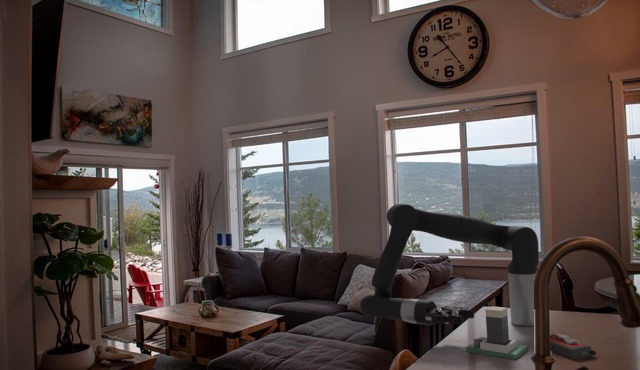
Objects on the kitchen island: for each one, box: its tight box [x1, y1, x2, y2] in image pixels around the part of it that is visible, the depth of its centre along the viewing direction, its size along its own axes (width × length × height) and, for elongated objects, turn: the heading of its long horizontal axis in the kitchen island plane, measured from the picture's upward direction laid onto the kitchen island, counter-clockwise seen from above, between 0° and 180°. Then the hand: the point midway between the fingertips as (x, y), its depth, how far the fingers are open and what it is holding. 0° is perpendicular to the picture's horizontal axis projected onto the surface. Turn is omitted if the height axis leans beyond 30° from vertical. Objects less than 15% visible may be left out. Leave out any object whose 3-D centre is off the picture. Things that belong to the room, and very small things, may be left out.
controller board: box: [465, 336, 529, 360], centre depth 140 cm, size 10×14×4 cm
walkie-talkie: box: [549, 333, 597, 360], centre depth 140 cm, size 9×4×20 cm
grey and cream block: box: [484, 306, 510, 345], centre depth 139 cm, size 4×4×11 cm
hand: (468, 317), depth 145 cm, fingers open, 8 cm apart
